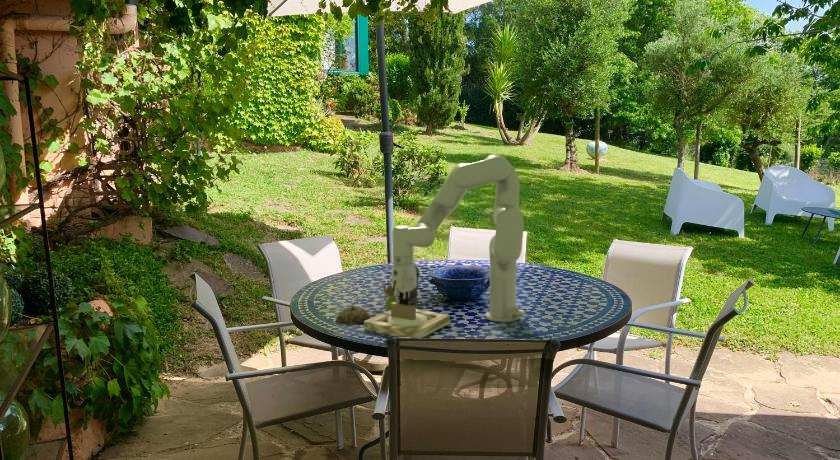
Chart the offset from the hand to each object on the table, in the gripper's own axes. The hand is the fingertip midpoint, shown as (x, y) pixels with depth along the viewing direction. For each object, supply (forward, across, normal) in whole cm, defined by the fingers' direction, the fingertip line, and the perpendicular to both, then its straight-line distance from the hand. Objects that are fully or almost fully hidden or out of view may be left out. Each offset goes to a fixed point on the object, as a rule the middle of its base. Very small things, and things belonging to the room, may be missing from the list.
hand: (404, 308), depth 240 cm
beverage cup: (+4, +21, +12) cm, 24 cm away
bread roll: (+5, -9, +17) cm, 20 cm away
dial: (+3, -6, -6) cm, 9 cm away
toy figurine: (+4, +6, +10) cm, 13 cm away
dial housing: (+4, -6, -6) cm, 9 cm away
